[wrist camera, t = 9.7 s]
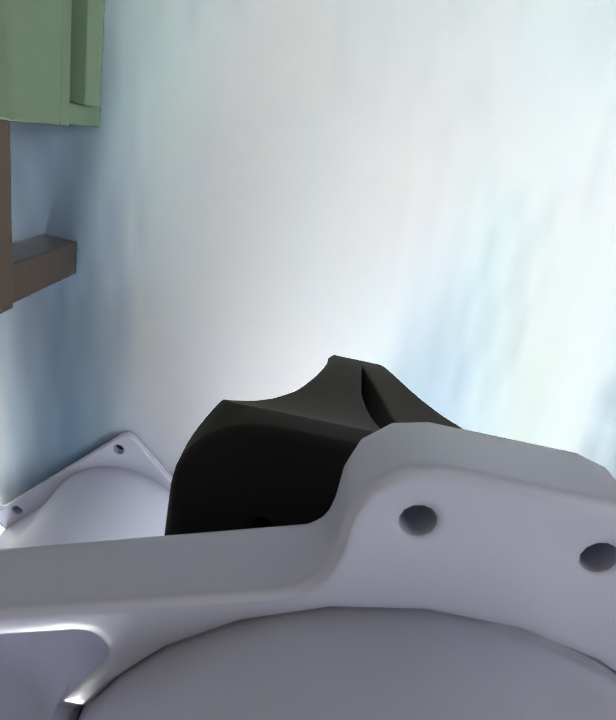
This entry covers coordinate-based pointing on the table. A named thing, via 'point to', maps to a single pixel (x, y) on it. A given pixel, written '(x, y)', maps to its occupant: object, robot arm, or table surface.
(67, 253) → the desk
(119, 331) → the table surface
